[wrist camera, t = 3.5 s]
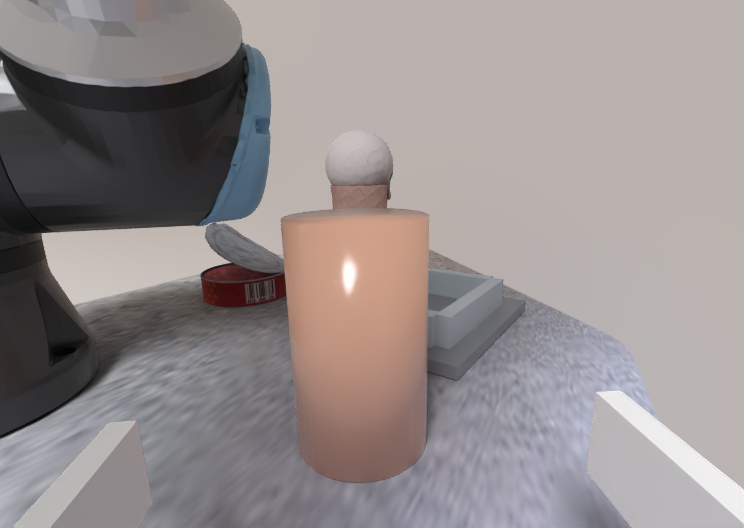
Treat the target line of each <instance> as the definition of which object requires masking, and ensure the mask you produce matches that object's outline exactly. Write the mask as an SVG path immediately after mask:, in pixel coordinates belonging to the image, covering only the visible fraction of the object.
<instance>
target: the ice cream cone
mask: <svg viewBox="0 0 744 528" xmlns="http://www.w3.org/2000/svg"><path fill="white" fill-rule="evenodd" d="M325 163H326V164H325V165H326V173H327V176H328V179H329V180H330V182H331V184H332V185H331V193H332V202H333V209H353V208H387V199H390V198H391V194H390V190H389V188H390V180H391V177H392V174H393V160H392V155H391V152H390V150H389V148H388V146H387V143H386V142H384V141H383V140H382V139H381V138H380V137H379V136H377V135H376V134H374V133H371V132H369V131H365V130H352V131H348V132H346V133H344V134H342V135H340V136H339V137H338V138H336V140H335V141H334V142H333V143H332V145H331V146H330V148H329V150H328V152H327V155H326V161H325Z"/></svg>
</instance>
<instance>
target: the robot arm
mask: <svg viewBox="0 0 744 528" xmlns="http://www.w3.org/2000/svg"><path fill="white" fill-rule="evenodd" d="M244 44H245V43H242V29H241V24H240V21H239V19H238V17H237V15H236V13H235V12H234V11H233V10H232V8H231V7H230V6H229V5H228V4H227V3H225V1H224V0H0V435H2V434H5V433H7V432H9V431H11V430H13V429H16V428H18V427H20V426H22V425H24V424H26V423H28V422H30V421H32V420H34V419H36V418H38V417H40V416H42V415H43V414H45V413H47V412H49V411H51V410H52V409H54V408H56V407H57V406H59V405H60V404H62V403H64V402H65V401H67V400H68V399H70V398H71V397H72V396H74V395H75V394H76V393H78V392H79V391H80V390H81V389H82V388H84V387H85V386H86V385H87V384H88V383H89V382H90V381H91V380H92V378H93V377H94V376H95V374H96V372H97V371H98V368H99V359H98V354H97V349H96V344H95V340H94V337H93V335H92V332H91V331H90V330H89V328H88V327H87V325H86V324H85V322H84V321H83V319H82V318H81V316H80V315H79V313H78V312H77V310H76V309H75V307H74V306H73V304H72V303H71V301H70V300H69V298H68V297H67V295H66V294H65V292H64V291H63V290H62V288H61V287H60V285H59V284H58V282H57V281H56V279H55V278H54V276H53V275H52V273H51V271H50V269H49V267H48V263H47V259H46V255H45V251H44V246H43V241H42V235H41V233H50V232H68V231H90V230H110V229H131V228H150V227H151V228H152V227H172V226H193V225H195V226H204V225H207V224H209V223H211V222H220V221H228V220H236V219H242V218H244V217H247V216H249V215H250V214H251V213H253V212H254V211H255V209H256V208H257V207H258V205H259V204H260V201H261V199H262V196H263V193H264V189H265V185H266V179H267V172H268V164H269V155H270V133H269V129H268V128H269V125H270V114H271V94H270V81H269V74H268V69H267V65H266V61H265V58H264V56H263V55H262V54H261V52H260V51H259V50H258V49H255V48H252V47H250V46H249V45H244ZM586 472H587V473H588V474H589V475H590V477H591V478H592V479H593V480H594V482H595V483H596V484H597V485H598V487H599V488H600V489H601V490H602V492H603V493H604V494H605V495H606V497H607V498H608V499H609V500H610V502H611V503H612V504H613V505H614V507H615V508H616V509H617V510H618V512H619V513H620V514H621V515H622V517H623V518H624V519H625V520H626V522H627V523H628V524H629V525H630V527H631V528H744V490H743V489H742V488H741V487H740V486H739V485H737V484H736V483H735V482H734V481H732V480H731V479H730V478H729V477H727V476H726V475H725V474H724V473H722V472H721V471H720V470H719V469H717V468H716V467H715V466H714V465H712V464H711V463H710V462H709V461H708V460H706V459H705V458H704V457H703V456H701V455H700V454H699V453H697V452H696V451H695V450H694V449H692V448H691V447H690V446H689V445H688V444H686V443H685V442H684V441H683V440H681V439H680V438H679V437H678V436H676V435H675V434H674V433H673V432H671V431H670V430H669V429H668V428H666V427H665V426H664V425H663V424H662V423H660V422H659V421H658V420H657V419H655V418H654V417H653V416H652V415H650V414H649V413H648V412H647V411H645V410H644V409H643V408H642V407H640V406H639V405H638V404H637V403H635V402H634V401H633V400H632V399H630V398H629V397H628V396H627V395H625V394H624V393H623V392H622V391H605V392H596V394H595V403H594V411H593V419H592V427H591V436H590V444H589V452H588V460H587V468H586ZM152 504H153V502H152V497H151V491H150V486H149V480H148V475H147V470H146V464H145V459H144V453H143V448H142V443H141V437H140V432H139V426H138V421H137V420H136V421H120V422H108V423H107V424H106V425H105V427H104V428H103V429H102V430H101V431H100V432H99V433H98V434H97V435H96V436H95V437H94V439H93V440H92V441H91V442H90V443H89V444H88V445H87V446H86V447H85V448H84V449H83V450H82V452H81V453H80V454H79V455H78V456H77V457H76V458H75V459H74V460H73V461H72V462H71V463H70V465H69V466H68V467H67V468H66V469H65V470H64V471H63V472H62V473H61V474H60V475H59V477H58V478H57V479H56V480H55V481H54V482H53V483H52V484H51V485H50V486H49V487H48V488H47V490H46V491H45V492H44V493H43V494H42V495H41V496H40V497H39V498H38V499H37V500H36V501H35V503H34V504H33V505H32V506H31V507H30V508H29V509H28V510H27V511H26V512H25V513H24V515H23V516H22V517H21V518H20V519H19V520H18V521H17V522H16V523H15V524H14V525H13V526H12V528H139V527H140V525H141V523H142V522H143V520H144V518H145V516H146V514H147V513H148V511H149V509H150V507H151V506H152Z"/></svg>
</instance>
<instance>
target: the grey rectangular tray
mask: <svg viewBox="0 0 744 528" xmlns="http://www.w3.org/2000/svg"><path fill="white" fill-rule="evenodd" d="M502 293H503V280H501V279H495V278H493V276H486V275H479V274H472V273H465V272H458V271H450V270H443V269H436V268H429V269H428V360H427V371H428V372H431V373H434V374H437V375H441V376H444V377H447V378H450V379H453V380H458V379H459V378H460V377H461V376H462V375H463V374H464V373H465V372H466V371H467V370H468V369H469V368H470V367H471V366H472V365H473V364H474V363H475V362H476V361H477V360H478V359H479V358H480V357H481V356H482V354H483V353H484V352H485V351H486V350H487V349H488V348H489V347H490V346H491V345H492V344H493V343H494V342H495V341H496V340H497V339H498V338H499V337H500V336H501V335H502V334H503V333H504V332H505V331H506V330H507V329H508V327H509V326H510V325H511V324H512V323H513V322H514V321H515V320H516V319H517V318H518V317H519V316H520V315H521V314H522V313H523V312H524V311H525V301H522V300H516V299H510V298H504V297H502Z"/></svg>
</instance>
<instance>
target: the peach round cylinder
mask: <svg viewBox="0 0 744 528" xmlns="http://www.w3.org/2000/svg"><path fill="white" fill-rule="evenodd" d="M281 230H282V242H283V256H284V269H285V282H286V295H287V308H288V320H289V333H290V346H291V359H292V372H293V385H294V398H295V410H296V423H297V436H298V448H299V451H300V454H301V456H302V458H303V460H304V461H305V462H306V463H307V464H308V465H309V466H310V467H311V468H312V469H313V470H315V471H316V472H318V473H320V474H322V475H324V476H326V477H328V478H331V479H334V480H339V481H343V482H352V483H366V482H375V481H380V480H384V479H387V478H390V477H393V476H395V475H398V474H400V473H402V472H403V471H405V470H407V469H408V468H409V467H411V466H412V465H413V464H414V463H415V462H416V461H417V460H418V459H419V458H420V456H421V455H422V453H423V451H424V449H425V446H426V440H427V360H428V269H429V214H427V213H424V212H421V211H415V210H406V209H389V208H353V209H332V210H320V211H311V212H303V213H297V214H292V215H288V216H285V217H283V218H281Z"/></svg>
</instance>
